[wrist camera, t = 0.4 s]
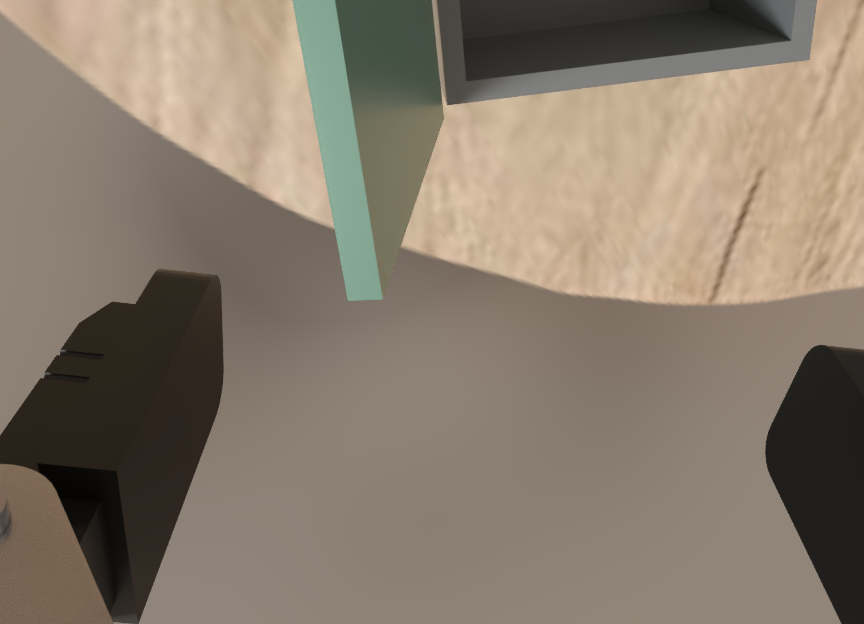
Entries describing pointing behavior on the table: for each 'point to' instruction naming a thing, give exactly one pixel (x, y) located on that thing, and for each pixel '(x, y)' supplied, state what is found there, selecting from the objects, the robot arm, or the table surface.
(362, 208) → the lid
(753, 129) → the table surface
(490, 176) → the table surface
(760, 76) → the table surface
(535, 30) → the storage box
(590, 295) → the table surface
